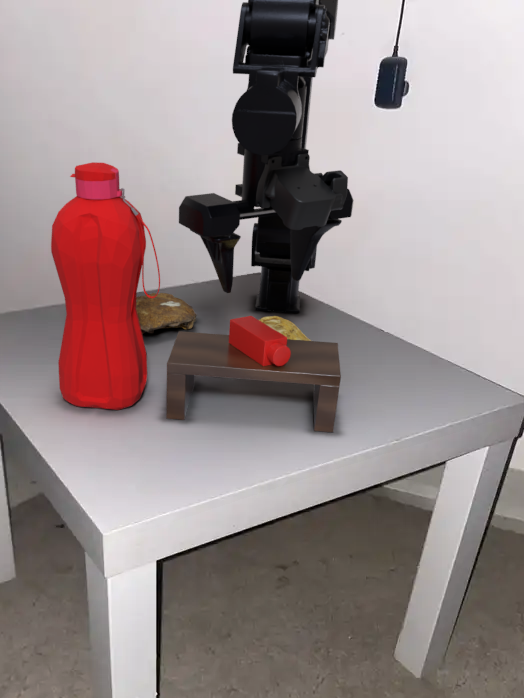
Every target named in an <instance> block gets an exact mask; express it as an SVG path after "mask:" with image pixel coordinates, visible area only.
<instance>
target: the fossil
mask: <svg viewBox="0 0 524 698" xmlns="http://www.w3.org/2000/svg"><path fill="white" fill-rule="evenodd" d="M258 320H259V321H261V322H263V323H264V324H266V325H268V326H269V327H271V328H273V329H274V330H276V331H278V332H279V333H281V334H283V335H284V336H286V337H287V339H291V340H305V341H312V340H311V339H310V338H308V336H306V335H305V334H304V333H303V332H302V330H301V329H300V328H299V327H298V326H297V325H296V324H295V323H294V322H292V321H290V320H289V319H286V318H283V317H281V316H278V315H272V316H270V315H269V316H268V315H267V316H263V317H261V318H260V319H258Z"/></svg>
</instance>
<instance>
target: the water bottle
mask: <svg viewBox="0 0 524 698" xmlns="http://www.w3.org/2000/svg"><path fill="white" fill-rule="evenodd" d="M69 177H70V178H74V181H75V194H76V196H74V197H72V199H71V200H69V201H67V202H66V203H65V204H63V206H62V207H61V208H60V210H58V212H57V214H56V216H55V218H54V221H53V222H52V225H51V239H50V251H51V252H50V253H51V256H52V260H53V263H54V266H55V269H56V273H57V277H58V280H59V283H60V287H61V290H62V294H63V296H64V305H65V311H66V312H65V315H66V316H65V321H64V326H63V333H62V338H61V345H60V350H59V356H58V383H59V384H58V385H59V390H60V393H61V396H62V399H63V400H65V401H66V402H67V403H69V404H71V405H73V406H74V407H80V408H81V407H82V408H93V409H94V408H95V409H103V410H104V409H105V410H112V411H113V410H115V411H120V410H123V409H126V408H130V407H132V406H133V405H135V404H136V402H138V401H139V400H140V399H141V397H142V396H143V395H142V394H143V392H144V390H145V389H146V385H147V380H148V379H147V377H148V355H147V349H146V345H145V340H144V335H143V334H142V332H141V327H140V323H139V319H138V314H137V310H136V297H137V292H138V288H139V283H140V278H141V277H142V279H141V280H142V281H141V282H142V289H143V292H144V294H145V295H147V296H148V297H149V298H154V297H156V296H157V294H159V292H160V288H161V275H160V274H161V273H160V266H159V265H160V264H159V260H158V256H157V250H156V247H155V243H154V240H153V237H152V234H151V231H150V229H149V228H148V225H146V223H145V222H144V220H143V217H142V213H141V212H140V211H139V210H138V209H137V208H136V207H135V206H134V205H133V204H132V203H131V202H130V201H129V200H127V199H126V195H125V191H126V190H125V188H124V187H122V188H120V170H119V169H118V168H117V167H115V166H114V165H111V164H109V163H106V162H88V163H83V164H79V165H76V166H75V167H74V173H71V175H70V176H69ZM145 229H146V230H147V232H148V235H149V238H150V241H151V245H152V248H153V252H154V256H155V261H156V268H157V274H158V289H157V292H156V295H155V296H149V295H148V294H149V293H147V291H146V288H145V281H144V279H145V278H144V277H145V276H144V269H145V268H144V267H145V266H144V265H145V263H144V262H145V254H146V249H147V239H146V232H145Z"/></svg>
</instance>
